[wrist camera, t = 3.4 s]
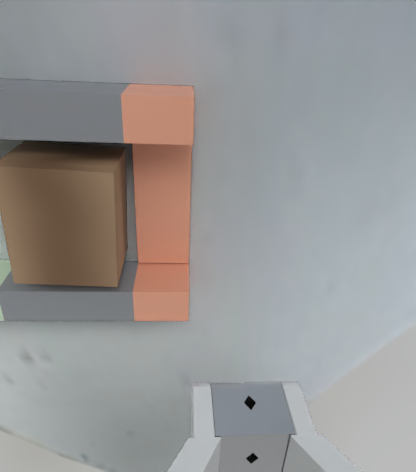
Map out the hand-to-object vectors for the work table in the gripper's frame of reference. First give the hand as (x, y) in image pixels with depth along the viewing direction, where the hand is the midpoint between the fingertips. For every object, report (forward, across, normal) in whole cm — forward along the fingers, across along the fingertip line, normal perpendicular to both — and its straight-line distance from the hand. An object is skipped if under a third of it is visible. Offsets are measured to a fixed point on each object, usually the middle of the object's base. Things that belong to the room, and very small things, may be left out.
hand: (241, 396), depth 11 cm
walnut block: (+13, +7, -1) cm, 15 cm away
